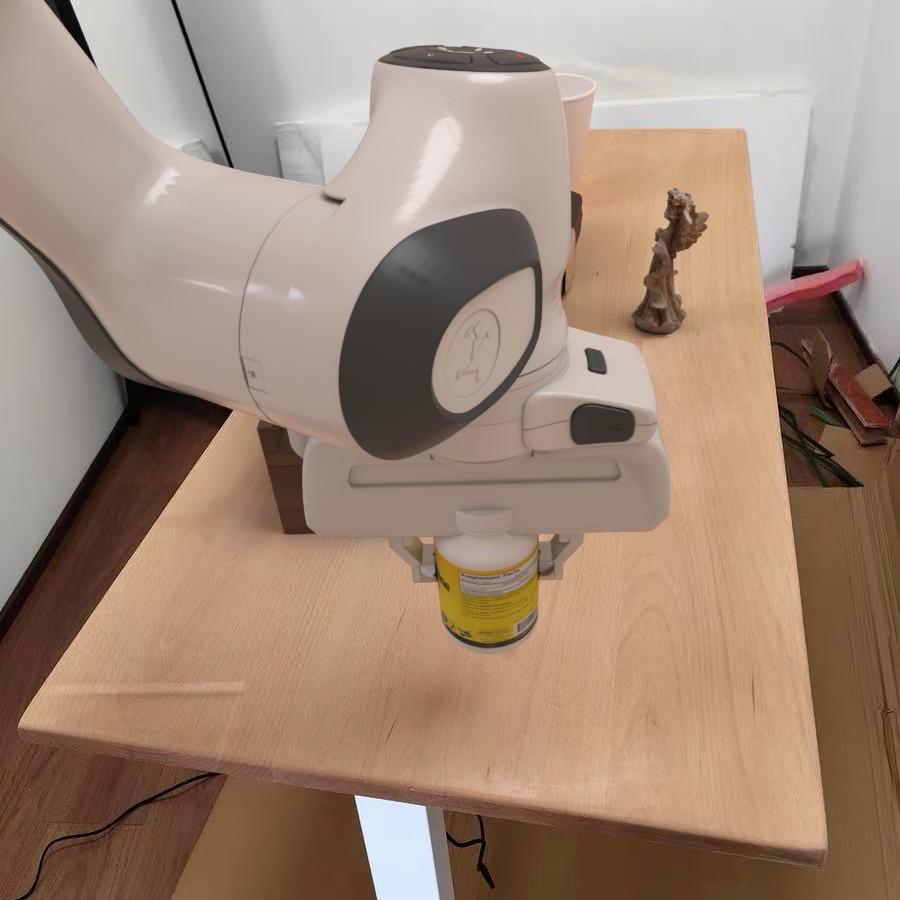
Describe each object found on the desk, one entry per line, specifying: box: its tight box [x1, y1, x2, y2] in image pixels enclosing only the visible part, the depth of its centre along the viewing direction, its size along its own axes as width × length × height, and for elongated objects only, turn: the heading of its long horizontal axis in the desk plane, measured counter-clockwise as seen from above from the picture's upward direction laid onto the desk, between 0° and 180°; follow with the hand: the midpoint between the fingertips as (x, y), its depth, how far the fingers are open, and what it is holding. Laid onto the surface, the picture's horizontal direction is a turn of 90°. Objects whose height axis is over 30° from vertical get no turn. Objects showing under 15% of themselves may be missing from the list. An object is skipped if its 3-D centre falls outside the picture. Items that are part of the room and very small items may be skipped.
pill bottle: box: [432, 510, 540, 655], centre depth 52 cm, size 6×6×11 cm
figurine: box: [630, 187, 710, 335], centre depth 92 cm, size 7×6×15 cm
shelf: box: [256, 419, 316, 535], centre depth 81 cm, size 28×12×11 cm, turn 178°
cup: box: [554, 72, 598, 193], centre depth 119 cm, size 12×12×16 cm
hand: (488, 574), depth 53 cm, fingers closed on pill bottle, 6 cm apart
